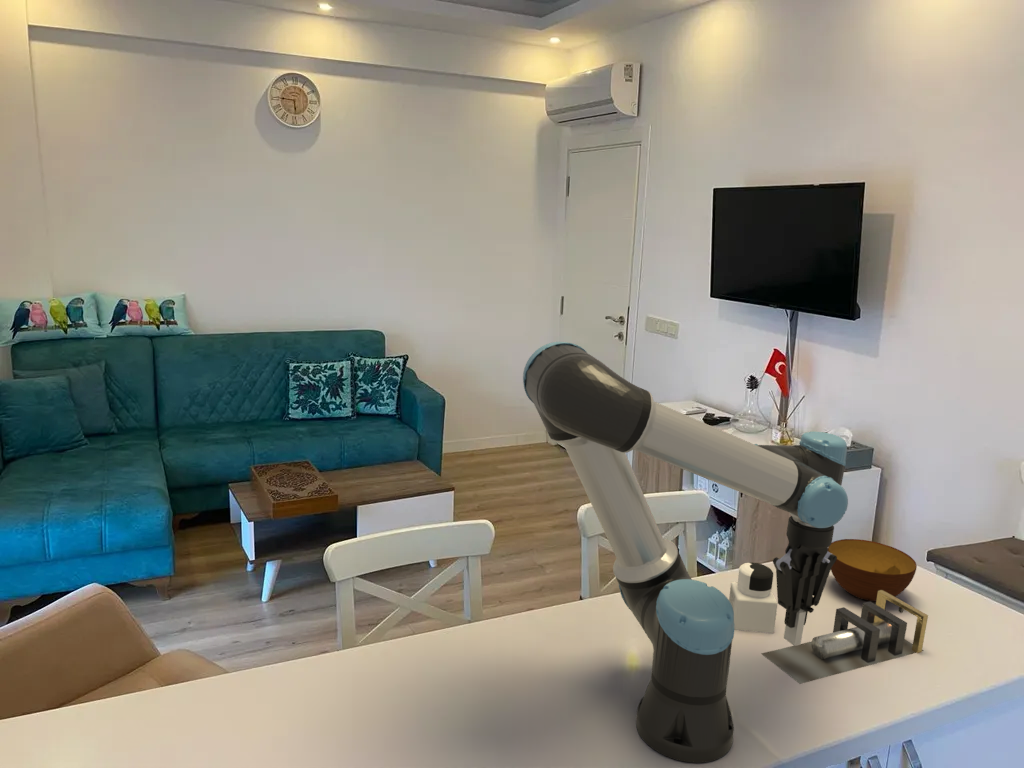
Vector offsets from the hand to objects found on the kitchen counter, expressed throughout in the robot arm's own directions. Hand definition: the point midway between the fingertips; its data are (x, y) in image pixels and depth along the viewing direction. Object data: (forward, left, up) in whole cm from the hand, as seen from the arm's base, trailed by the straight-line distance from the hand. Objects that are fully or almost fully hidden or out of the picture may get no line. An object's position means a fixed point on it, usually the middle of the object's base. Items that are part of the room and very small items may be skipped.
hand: (792, 641), depth 136 cm
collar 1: (+16, 0, -5) cm, 16 cm away
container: (+4, +15, -6) cm, 16 cm away
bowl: (+37, +16, -6) cm, 40 cm away
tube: (+17, 0, -5) cm, 18 cm away
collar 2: (+23, 0, -5) cm, 23 cm away
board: (+13, 0, -6) cm, 14 cm away
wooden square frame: (+27, 0, -5) cm, 28 cm away
